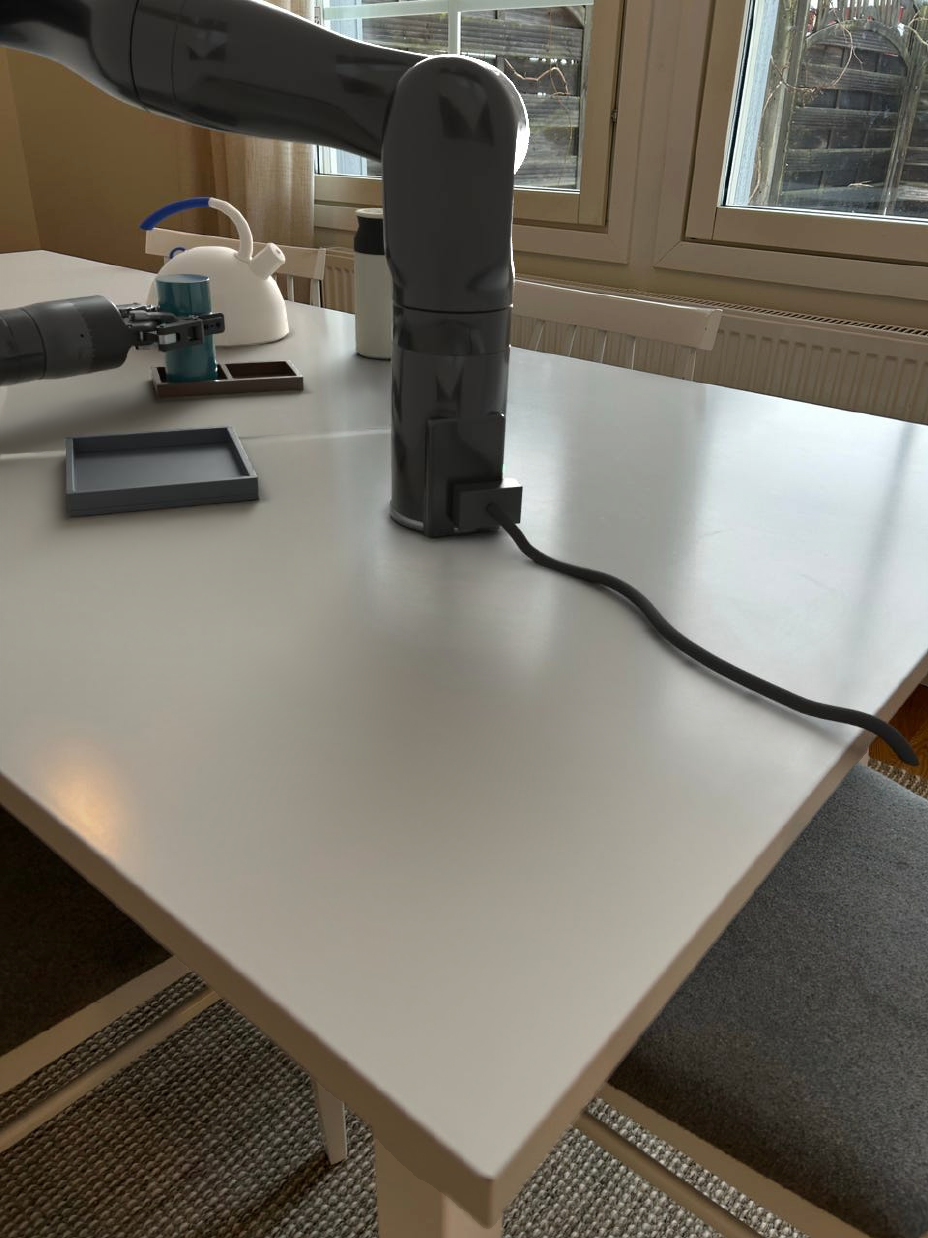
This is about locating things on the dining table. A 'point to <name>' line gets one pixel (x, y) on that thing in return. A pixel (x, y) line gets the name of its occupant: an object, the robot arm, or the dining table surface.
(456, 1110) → the dining table surface
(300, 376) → the tray
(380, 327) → the travel mug
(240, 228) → the kettle
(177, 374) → the teal cylinder
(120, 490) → the tray
